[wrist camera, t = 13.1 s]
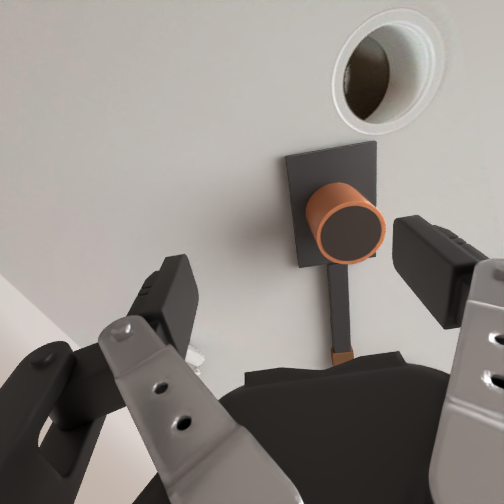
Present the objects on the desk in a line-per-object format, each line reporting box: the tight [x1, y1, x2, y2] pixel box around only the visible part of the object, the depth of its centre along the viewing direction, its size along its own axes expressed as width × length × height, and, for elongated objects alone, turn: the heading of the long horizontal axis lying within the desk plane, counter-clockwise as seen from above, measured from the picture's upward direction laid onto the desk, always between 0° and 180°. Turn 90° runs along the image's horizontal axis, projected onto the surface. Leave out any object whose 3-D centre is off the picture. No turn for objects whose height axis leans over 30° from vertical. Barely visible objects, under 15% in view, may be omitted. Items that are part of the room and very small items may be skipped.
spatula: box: [286, 141, 377, 367], centre depth 38 cm, size 30×9×1 cm, turn 10°
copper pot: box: [306, 183, 386, 264], centre depth 31 cm, size 6×6×7 cm
